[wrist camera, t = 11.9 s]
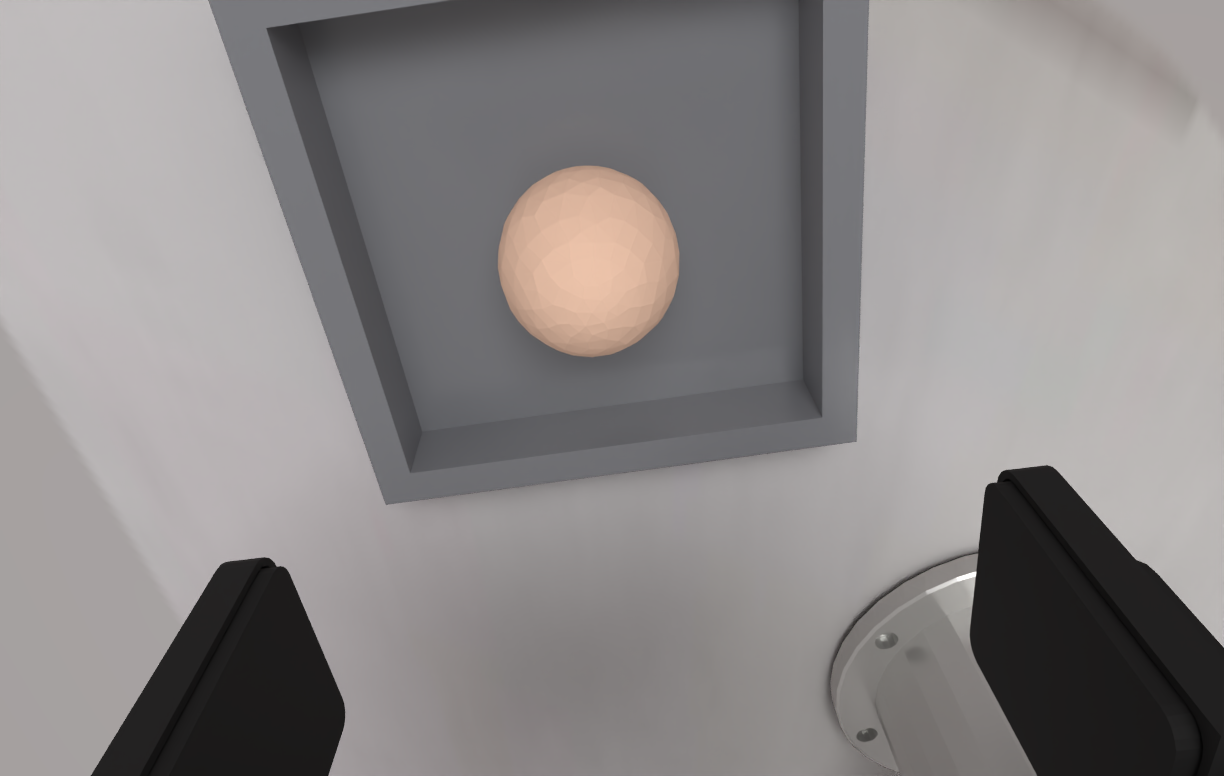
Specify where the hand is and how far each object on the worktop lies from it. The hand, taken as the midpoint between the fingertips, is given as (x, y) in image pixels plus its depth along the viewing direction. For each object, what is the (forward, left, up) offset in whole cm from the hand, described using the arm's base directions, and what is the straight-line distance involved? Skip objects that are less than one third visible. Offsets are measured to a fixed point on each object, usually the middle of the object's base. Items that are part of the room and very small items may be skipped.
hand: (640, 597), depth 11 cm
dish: (+1, 0, -14) cm, 14 cm away
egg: (+1, 0, -14) cm, 14 cm away
